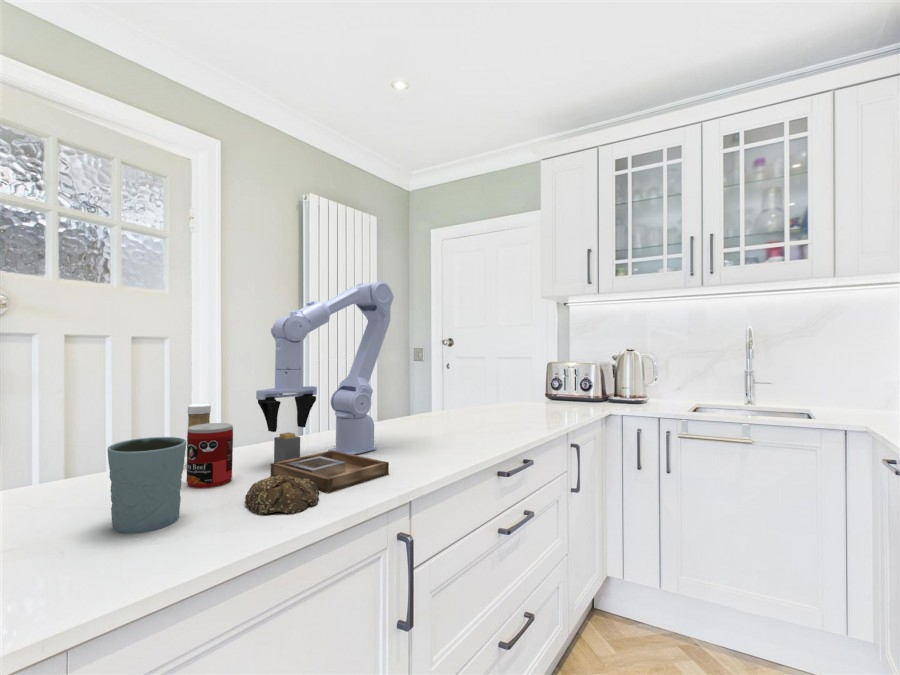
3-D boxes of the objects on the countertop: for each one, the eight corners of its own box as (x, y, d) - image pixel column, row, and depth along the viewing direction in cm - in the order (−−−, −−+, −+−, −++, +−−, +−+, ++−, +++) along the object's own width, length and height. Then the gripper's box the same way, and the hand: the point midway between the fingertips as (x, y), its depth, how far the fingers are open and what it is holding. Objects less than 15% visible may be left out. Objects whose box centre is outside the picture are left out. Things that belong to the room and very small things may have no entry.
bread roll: (247, 496, 85) (247, 468, 86) (318, 490, 90) (318, 463, 90) (240, 521, 73) (241, 489, 73) (323, 512, 77) (323, 482, 78)
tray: (332, 460, 110) (332, 450, 110) (388, 474, 100) (388, 462, 100) (270, 475, 97) (270, 463, 97) (327, 493, 87) (327, 479, 87)
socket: (319, 465, 104) (319, 456, 104) (345, 471, 99) (345, 462, 99) (286, 473, 97) (286, 463, 97) (312, 480, 92) (312, 470, 92)
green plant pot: (170, 506, 79) (171, 434, 79) (196, 521, 72) (198, 442, 73) (96, 523, 71) (98, 443, 71) (118, 542, 65) (120, 454, 65)
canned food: (177, 485, 91) (178, 427, 91) (215, 475, 98) (216, 421, 98) (203, 491, 87) (204, 431, 87) (240, 480, 94) (241, 424, 94)
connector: (289, 460, 110) (289, 431, 110) (299, 463, 108) (300, 433, 108) (273, 464, 107) (274, 433, 107) (284, 467, 105) (284, 436, 105)
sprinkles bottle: (212, 465, 105) (213, 404, 105) (190, 468, 102) (191, 406, 102) (206, 461, 108) (207, 402, 109) (183, 464, 105) (185, 404, 105)
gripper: (304, 367, 116) (303, 423, 116) (248, 369, 104) (247, 431, 104) (322, 368, 112) (321, 426, 111) (267, 370, 100) (266, 435, 100)
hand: (287, 429), depth 107 cm, fingers open, 7 cm apart
